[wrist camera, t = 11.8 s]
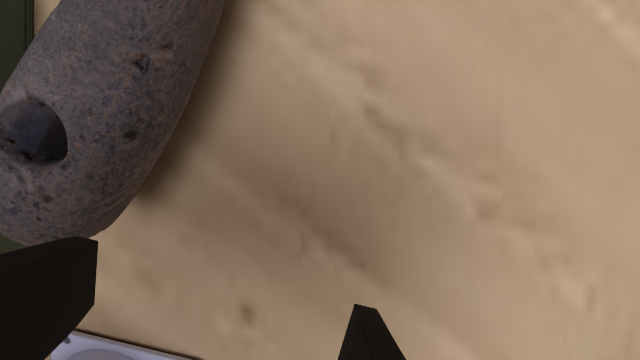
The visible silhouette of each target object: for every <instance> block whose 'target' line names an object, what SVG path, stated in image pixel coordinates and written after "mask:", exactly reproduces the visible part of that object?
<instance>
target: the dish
mask: <svg viewBox="0 0 640 360" xmlns="http://www.w3.org/2000/svg"><path fill="white" fill-rule="evenodd" d="M32 41H33V0H0V93H1V91H2V89H3V87H4V86H5V84H6V82H7V81H8V79H9V78H10V76H11V75H12V73H13V71H14V70H15V68H16V66H17V65H18V63H19V62H20V60H21V58H22V57H23V55H24V53H25V52H26V50H27V49H28V47H29V45H30V44H31V42H32ZM22 248H26V246H25V245H22V244H21V243H19V242H15V241H13V240H10V239H9V238H8V237H6V236H3V235H2V233H1V232H0V254H3V253H6V252H10V251H14V250H18V249H22Z"/></svg>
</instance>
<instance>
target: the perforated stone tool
mask: <svg viewBox="0 0 640 360" xmlns="http://www.w3.org/2000/svg"><path fill="white" fill-rule="evenodd" d="M224 3H225V0H61V1H60V3H59V4H58V6H57V7H56V8H55V9H54V10H53V11H52V13H51V14H50V15H49V17H48V18H47V20H46V22H45V23H44V24H43V26H42V28H41V29H40V30H39V32H38V33H37V35H36V36H35V38H34V39H33V41H32V42H31V44H30V45H29V47H28V49H27V50H26V52H25V53H24V55H23V57H22V58H21V60H20V62H19V63H18V65H17V66H16V68H15V70H14V71H13V73H12V75H11V76H10V78H9V79H8V81H7V82H6V84H5V86H4V87H3V89H2V91H1V93H0V232H1V233H2V235H3V236H6V237H8V238H9V239H10V240H13V241H15V242H19V243H21V244H22V245H25V246H26V247H30V246H33V245H37V244H41V243H45V242H49V241H54V240H58V239H62V238H67V237H73V236H79V237H83V238H87V239H88V238H90V237H91V236H95V235H96V234H97V233H99V232H101V231H103V230H105V229H106V228H107V227H109V226H110V225H111V224H112V223H113V222H114V221H115V220H116V219H117V218H118V217H119V216H120V215H121V213H122V212H123V211H124V210H125V208H126V207H127V206H128V204H129V203H130V202H131V200H132V199H133V198H134V196H135V195H136V194H137V192H138V191H139V189H140V188H141V186H142V185H143V183H144V181H145V180H146V178H147V177H148V175H149V174H150V172H151V170H152V169H153V167H154V166H155V164H156V162H157V161H158V159H159V157H160V155H161V154H162V152H163V150H164V148H165V147H166V145H167V143H168V141H169V139H170V138H171V136H172V134H173V132H174V130H175V128H176V126H177V124H178V122H179V120H180V118H181V116H182V114H183V112H184V110H185V108H186V105H187V103H188V101H189V98H190V96H191V93H192V91H193V89H194V87H195V84H196V82H197V79H198V76H199V73H200V71H201V69H202V66H203V63H204V61H205V59H206V56H207V54H208V52H209V49H210V46H211V44H212V41H213V39H214V36H215V33H216V30H217V27H218V24H219V21H220V18H221V15H222V11H223V7H224Z"/></svg>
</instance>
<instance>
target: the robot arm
mask: <svg viewBox="0 0 640 360" xmlns="http://www.w3.org/2000/svg"><path fill="white" fill-rule="evenodd" d="M97 251H98V241H95V240H91V239H87V238H83V237H79V236H73V237H67V238H62V239H58V240H54V241H49V242H45V243H41V244H37V245H33V246H30V247H26V248H22V249H18V250H14V251H10V252H6V253H3V254H0V360H44V359H45V358H46V357H47V356H49V355H50V354H51V360H192V359H188V358H184V357H180V356H176V355H172V354H167V353H163V352H159V351H155V350H151V349H147V348H143V347H139V346H135V345H130V344H126V343H122V342H118V341H114V340H110V339H106V338H102V337H98V336H93V335H89V334H85V333H81V332H77V331H73V330H74V329H75V327H76V326H77V325H78V324H79V323H80V322H81V320H82V319H83V318H84V317H85V315H86V314H87V313H88V311H89V310H90V309H91V308H92V306H93V305H94V299H95V283H96V267H97ZM338 360H406V359H405V357H404V356H403V354H402V352H401V351H400V349H399V347H398V346H397V344H396V342H395V340H394V339H393V337H392V335H391V333H390V332H389V330H388V328H387V326H386V325H385V323H384V321H383V319H382V318H381V316H380V314H379V312H378V311H377V309H374V308H370V307H366V306H362V305H358V304H354V308H353V311H352V314H351V318H350V321H349V324H348V327H347V331H346V334H345V337H344V341H343V344H342V347H341V350H340V354H339V357H338Z"/></svg>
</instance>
